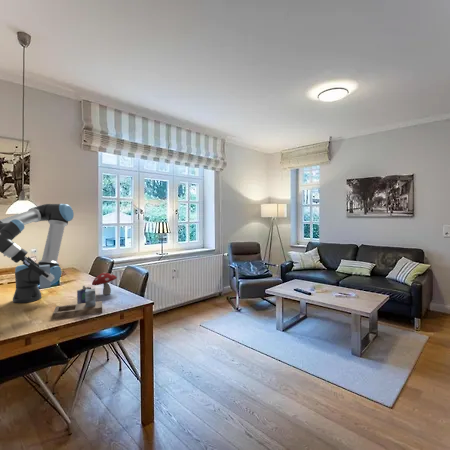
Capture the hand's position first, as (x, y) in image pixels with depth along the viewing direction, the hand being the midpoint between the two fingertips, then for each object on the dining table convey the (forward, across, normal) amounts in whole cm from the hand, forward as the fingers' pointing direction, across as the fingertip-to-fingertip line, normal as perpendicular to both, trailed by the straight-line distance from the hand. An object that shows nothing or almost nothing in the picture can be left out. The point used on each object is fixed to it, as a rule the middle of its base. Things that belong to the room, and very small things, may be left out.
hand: (52, 278), depth 162 cm
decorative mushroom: (+35, -16, +8) cm, 40 cm away
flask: (+25, -5, -2) cm, 25 cm away
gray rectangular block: (0, 0, -5) cm, 5 cm away
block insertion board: (+21, +12, -5) cm, 25 cm away
